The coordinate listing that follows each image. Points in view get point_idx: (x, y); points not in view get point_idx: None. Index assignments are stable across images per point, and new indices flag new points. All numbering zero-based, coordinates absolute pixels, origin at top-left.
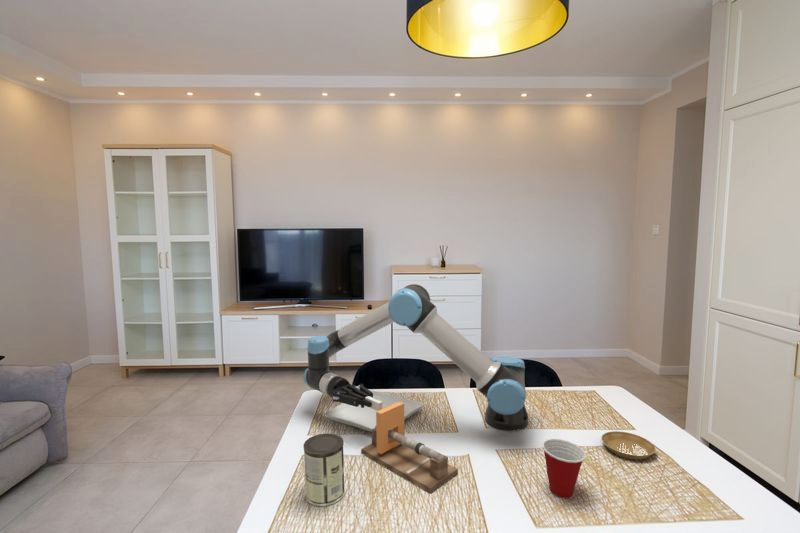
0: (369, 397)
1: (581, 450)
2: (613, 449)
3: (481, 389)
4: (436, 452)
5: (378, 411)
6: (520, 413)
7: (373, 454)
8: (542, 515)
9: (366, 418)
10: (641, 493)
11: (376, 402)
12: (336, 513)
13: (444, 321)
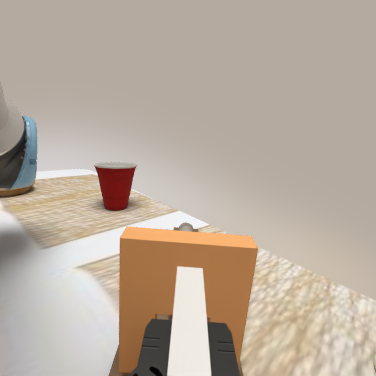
0: (186, 346)
1: (105, 163)
2: (24, 187)
3: (13, 148)
4: (186, 227)
5: (248, 245)
6: None
7: None
8: (161, 209)
9: None
10: (88, 188)
11: (203, 280)
12: None
13: None
